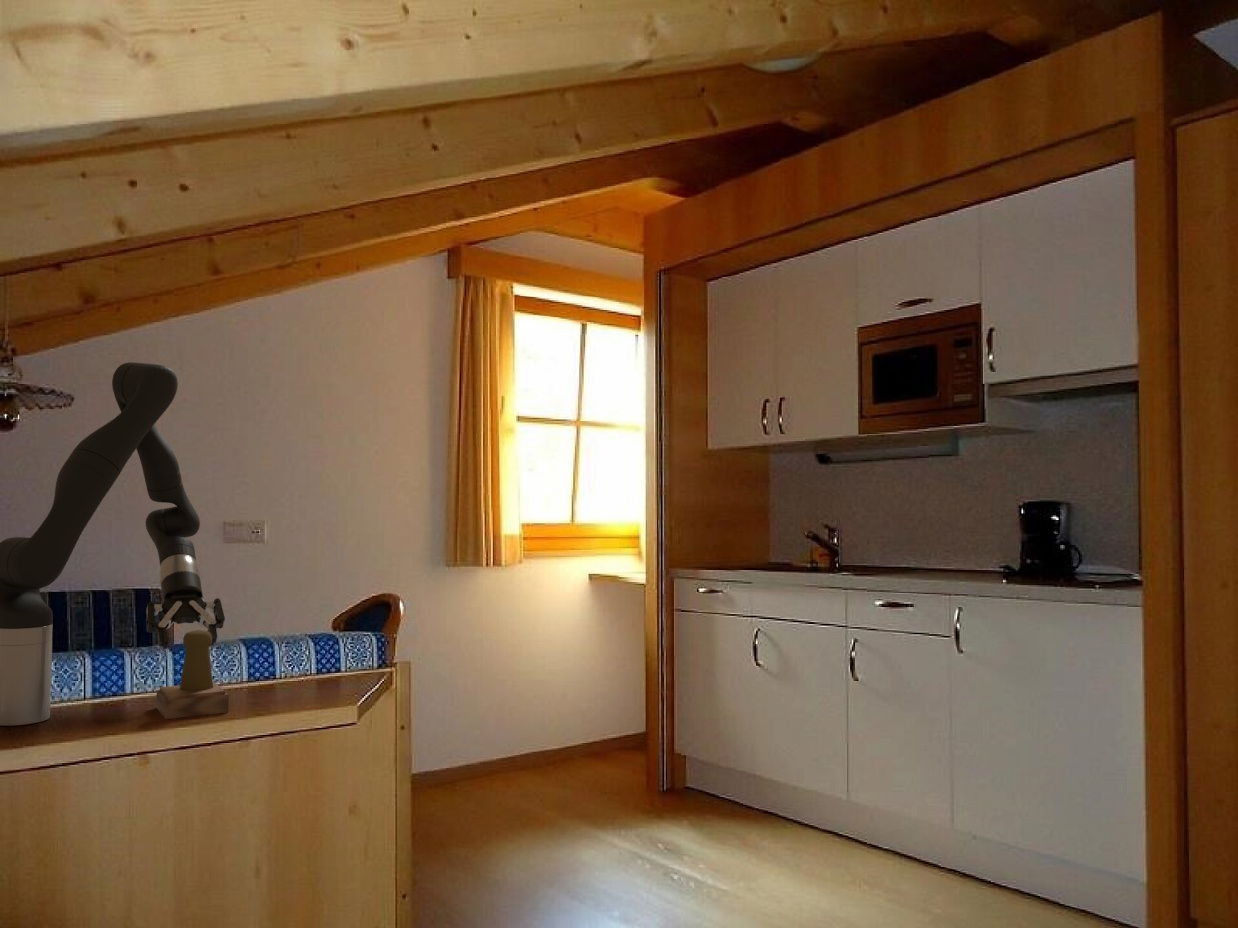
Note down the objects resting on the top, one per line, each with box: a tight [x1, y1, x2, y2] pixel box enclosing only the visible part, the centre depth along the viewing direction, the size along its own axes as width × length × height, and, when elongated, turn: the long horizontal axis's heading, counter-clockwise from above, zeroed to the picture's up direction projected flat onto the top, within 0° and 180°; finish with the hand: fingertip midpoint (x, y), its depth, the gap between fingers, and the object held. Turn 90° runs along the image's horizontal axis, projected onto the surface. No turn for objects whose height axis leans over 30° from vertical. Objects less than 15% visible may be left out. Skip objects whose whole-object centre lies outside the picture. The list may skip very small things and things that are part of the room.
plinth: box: [155, 681, 230, 720], centre depth 191 cm, size 11×11×4 cm
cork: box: [180, 629, 214, 691], centre depth 193 cm, size 6×6×11 cm
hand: (189, 644), depth 196 cm, fingers open, 8 cm apart
